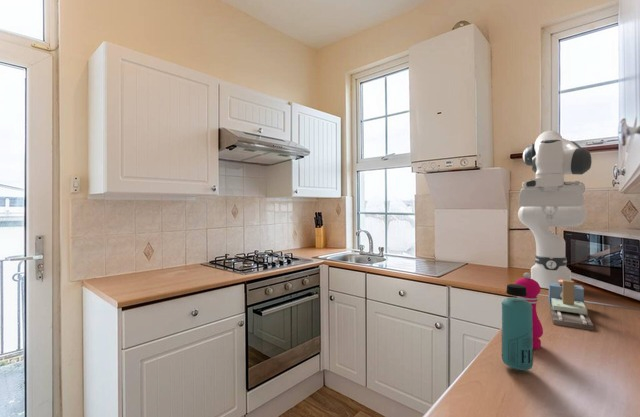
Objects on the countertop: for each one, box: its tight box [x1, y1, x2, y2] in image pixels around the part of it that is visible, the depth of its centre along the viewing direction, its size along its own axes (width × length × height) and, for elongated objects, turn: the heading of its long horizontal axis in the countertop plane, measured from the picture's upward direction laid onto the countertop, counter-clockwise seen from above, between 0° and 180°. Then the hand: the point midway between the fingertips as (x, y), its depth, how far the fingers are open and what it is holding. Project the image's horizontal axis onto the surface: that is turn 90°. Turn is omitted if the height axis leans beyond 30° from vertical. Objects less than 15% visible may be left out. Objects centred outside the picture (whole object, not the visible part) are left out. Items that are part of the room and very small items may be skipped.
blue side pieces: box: [548, 282, 585, 306], centre depth 119 cm, size 6×10×8 cm, turn 57°
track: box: [549, 303, 595, 331], centre depth 108 cm, size 20×10×2 cm, turn 147°
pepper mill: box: [514, 272, 544, 350], centre depth 88 cm, size 7×7×20 cm
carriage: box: [551, 279, 588, 314], centre depth 111 cm, size 10×9×10 cm
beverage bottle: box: [500, 283, 535, 371], centre depth 75 cm, size 6×7×20 cm
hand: (549, 218), depth 121 cm, fingers closed
